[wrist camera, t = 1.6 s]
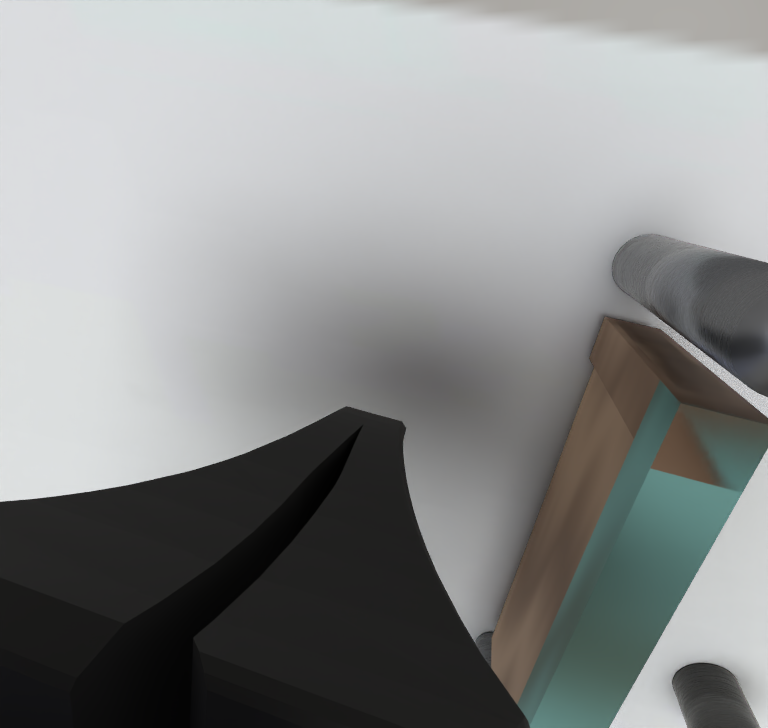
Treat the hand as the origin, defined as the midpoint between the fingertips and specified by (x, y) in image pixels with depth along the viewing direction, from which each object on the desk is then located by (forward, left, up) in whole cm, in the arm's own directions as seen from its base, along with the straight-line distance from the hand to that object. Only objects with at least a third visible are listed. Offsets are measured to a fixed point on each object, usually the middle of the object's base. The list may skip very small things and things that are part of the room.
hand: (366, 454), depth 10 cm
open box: (-3, -5, -5) cm, 8 cm away
